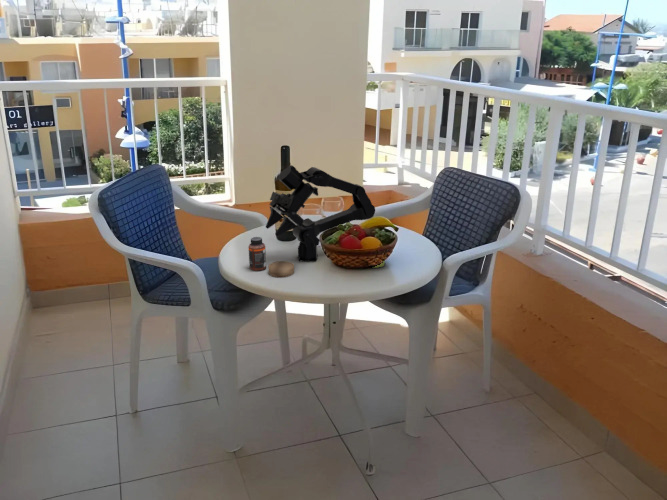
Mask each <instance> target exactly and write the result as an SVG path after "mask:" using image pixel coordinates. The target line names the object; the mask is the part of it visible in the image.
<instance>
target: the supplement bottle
mask: <svg viewBox="0 0 667 500" xmlns="http://www.w3.org/2000/svg"><path fill="white" fill-rule="evenodd" d="M247 249H248V261H249V269H250V271H251V270H252V271H253V272H254V271H255V272H258V271H259V272H261V271H263V270H265V269H266V268H267V257H266V255H267V254H266V252H267V251H266V244H265V243H264V242H263V238H262V237H261V236H253V237H251V238H250V242H249V245H248V247H247Z"/></svg>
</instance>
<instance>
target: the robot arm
mask: <svg viewBox="0 0 667 500" xmlns="http://www.w3.org/2000/svg"><path fill="white" fill-rule="evenodd" d="M278 180H279V181H280V182H281V183H282V184H283V185H284V186H285V187H287V189H288V190H290V191H291V190H293V191H292V193H287V194H286V193H278V192H275V191H272V193H271V195H270V196H271V197H269V201H270V203H269V204H268V205H269V209H270V214H269V217H268V218H267V219H268V220H267V222H266V224H265V228H266V229H267V230H268V229H270V228H271V227H273V226H274V225H275V224H277V223H278V222H279V221H281V220H283V221H282V223H281V224H280V225H279V227H278V228H277V230H276V232H275V234H274V235H275V236H276V237H278V236H281V235H282V234H285V233H286V232H289V231H291V230H292V234H293V236H294V237H295V238H296V239H297V241H299V245H298V247H297V258H298V261H299V262H317V261H318V260H317V259H318V257H319V255H318V246H319V244H320V241H321V240H320V238H319V237H318V236H319V235H320V234H321V233H323V232H327V231H328V230H331V229H334V228H336V227H339V226H338V225H339V224H342V225H345V224H347V223H350V222H352V221H364V220H365V221H366V220H369V219H372V218H374V216H375V214H376V207H375V205H373V203H372V201H371V199H370V197H369V196H368V194H367V192H366V189H365V188H364V186H362V185H360V184H357V183H352V182H351V181H350V182H349V181H346V180H343V179H341V178H338V177H335V176H333V175H331V174H329V173H327V172H326V171H324V170H322V169H320V168H318V167H316V166H315V167H313V166H311V167H310V168H308V169H307V170H304V171H302V172H300V171H298V169H297V168H296V167H295V166H294V165H292V164H290V165H289V166H288V167H286V168H285V169H283V170H282V171H281V172H279V175H278ZM311 184H312V185H311ZM313 185H314V186H313ZM318 187H321V188H322V187H324V188H328V187H329V188H333V189H336V190H339V191H342V192H346V193H349V194H351V196H352V202H353V204H352V205H350V206H349V208H348V209H345V210H342V211H340V212H337V213H334V214H332V215H328V216H326V217H322V218H320V219H318V220H314V221H313V220H312V219H311V218H305V219H304V218H303V217H301V216H300V215H299V214H298V212H299V211H300V209H301V208H302V209H304V208H305V206H306V205H305V203H306V202H307V201H308V199H309V198H310V197H311V196H312V195H315V196H317V197H318V196H319V191H318V190H319V188H318Z"/></svg>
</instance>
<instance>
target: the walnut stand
mask: <svg viewBox="0 0 667 500" xmlns="http://www.w3.org/2000/svg"><path fill="white" fill-rule="evenodd" d="M294 274H295V264H294V263H292V262H291V261H287V260H285V261H284V260H281V261H278V260H277V261H274V262H272V263H269V265H268V275H269V276H270V277H274V278H288V277H291V276H293V275H294Z"/></svg>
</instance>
